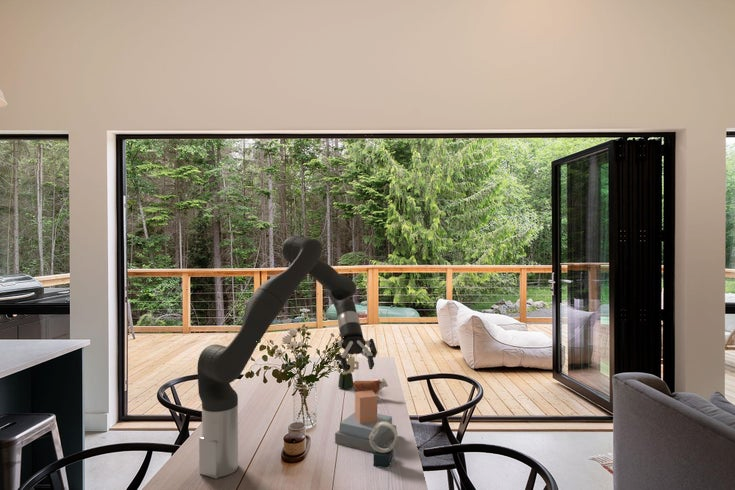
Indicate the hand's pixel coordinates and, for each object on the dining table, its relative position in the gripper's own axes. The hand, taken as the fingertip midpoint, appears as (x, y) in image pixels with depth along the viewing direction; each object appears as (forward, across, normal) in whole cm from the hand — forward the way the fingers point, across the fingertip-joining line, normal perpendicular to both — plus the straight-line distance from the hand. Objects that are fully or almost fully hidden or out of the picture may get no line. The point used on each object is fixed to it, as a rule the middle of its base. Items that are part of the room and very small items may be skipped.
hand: (359, 369), depth 154 cm
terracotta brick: (+15, 0, +4) cm, 16 cm away
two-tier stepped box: (+20, 0, +8) cm, 21 cm away
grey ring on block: (+31, 0, -3) cm, 31 cm away
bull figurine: (-4, +12, +32) cm, 34 cm away
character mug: (-15, +6, +42) cm, 45 cm away
